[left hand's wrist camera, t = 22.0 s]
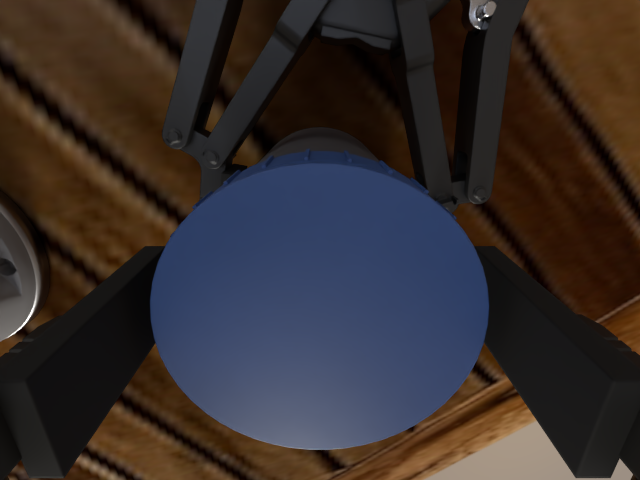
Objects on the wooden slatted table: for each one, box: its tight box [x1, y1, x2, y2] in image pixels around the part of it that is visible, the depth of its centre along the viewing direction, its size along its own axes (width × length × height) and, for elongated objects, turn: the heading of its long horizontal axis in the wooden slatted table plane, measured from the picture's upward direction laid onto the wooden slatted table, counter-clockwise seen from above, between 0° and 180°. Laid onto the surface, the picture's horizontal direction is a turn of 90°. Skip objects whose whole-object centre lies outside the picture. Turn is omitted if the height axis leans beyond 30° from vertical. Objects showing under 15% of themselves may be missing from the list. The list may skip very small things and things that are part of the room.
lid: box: [150, 149, 489, 450], centre depth 11 cm, size 10×10×2 cm
